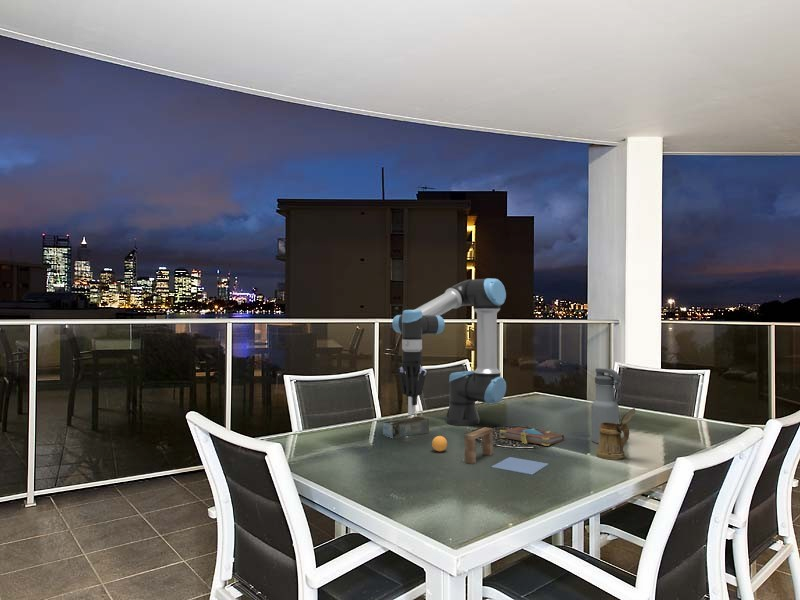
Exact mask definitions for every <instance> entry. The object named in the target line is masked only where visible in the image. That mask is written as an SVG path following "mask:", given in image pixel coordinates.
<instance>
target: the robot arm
mask: <svg viewBox="0 0 800 600" xmlns="http://www.w3.org/2000/svg"><path fill="white" fill-rule="evenodd" d="M506 298H507V292H506V289H505V286H504V284H503V282H502V281H500V280H499V279H498V278H488V277H487V278H475V279H465V280H463V281H461V282H459V283H457V284H455V285H452V286H451V287H448V288H447V289H446V290H444V293H443V294H440V295H439V296H437V297H435V298H434V299H431V300H430V301H428V302H425V303H424V304H422V305H420V306H418V307H417V308H415V309H405V310H402V314H397V315H395V316H394V317H393V319H392V324H391V325H392V329H393V331H395V332H396V333H398V334H401V335H402V336H401V343H402V344H401V350H402V352H401V360H402V364H401V367H399V368H396V373H397V374H398V379H399V382H400V383H399V384H400V389H401V393H402V394H403V395H405V396H406V405H407V415H411V416H412V415H414V414H416V406H417V405H418V397H419V396H421V395H423V390H424V386H425V385H424V384H425V381H426V376H427V374H428V369H425V368H423V364H422V361H423V352H422V350H423V335H439V334H441V333H443V331H444V329H445V324H446V323H445V320H444V318H443V317H442V315H444V314H446V313H447V312H449V311H451V310H452V309H459V308H460V307H463V306H466V307H467V306H473V308H472V309H473V311H475V313H476V369H474V370H465V371H455V372H452V373H450V374H449V381H448V384H449V385H448V388H449V389H448V390H449V391H448V392H449V397H448V398H449V405H448V409H447V412H446V415H445V423H446V424H448V425H452V426H463V427H464V426H475V425H479V424H480V416H479V413H478V409H477V406H476V402H480V403H485V404H494V405H495V404H498V403H500V402H501V401H502V400H503V399H504V398H505V395H506V392H507V382H506V380H505V379H504V378H503V377H502V375H501V370H499V369H498V329H497V328H498V327H497V326H498V324H497V323H498V321H497V320H498V317H497V315H498V313H499V312H500V310H501V306H502V305H503V304H504V303H505V302H506Z"/></svg>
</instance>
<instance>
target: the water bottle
mask: <svg viewBox="0 0 800 600" xmlns="http://www.w3.org/2000/svg"><path fill="white" fill-rule="evenodd" d="M595 373H596V374H595V375H596V376H595V377H594V385H595V400H593V401H592V402H591V408H590V409H591V441H592V442H594V443H595V444H599V436H600V432H599V429H600V427H601V423H605V422H609V423H616V424H617V423H620V419H619V417H620V413H619V412H620V409H619V408H620V407H619V404H618V402H619V401H620V400H621V387H619V383H620V382H621V377H620V375H619V373H618V372H617V371H616V370H614V369H613V368H601V367H600V368H597V367H596V368H595ZM606 374H609V375H606ZM616 391H617V394H618V396H617V399H616Z"/></svg>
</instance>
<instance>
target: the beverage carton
mask: <svg viewBox="0 0 800 600" xmlns="http://www.w3.org/2000/svg"><path fill="white" fill-rule="evenodd" d="M424 433H425V434H429V433H430V423H429V418H425V417H422V416H413V417H412V416H411V417H409V418H402V419H396V420H391V421H383V422H382V435H385V436H387V437H386V438H388V437H390V438H389V439H391V438H392V440H395V439H394V438H396V439H400V438H399V437H402V438H407V437H406V436H408V437H412V435H414V436H418V435H424ZM385 436H384V437H385Z"/></svg>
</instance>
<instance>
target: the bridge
mask: <svg viewBox="0 0 800 600" xmlns="http://www.w3.org/2000/svg"><path fill="white" fill-rule="evenodd" d="M493 431H494V429H493V427H486V426H485V427H482V428H479V429H476V430H475V431H474V430H473V431H472V432H469V433H467V434H465V435H464V463H465V464H471V465H473V464H476V462H477V457H476V455H477V453H476V451H477V450H476V449H477V447H476V444H477V441H476V439H478V438H480V437H482V439H481V441H482V455H484V456H489V457H490V456H493V454H494V453H493V452H494V447H493V444H494V440H493V439H494V437H493V433H494V432H493Z"/></svg>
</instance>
